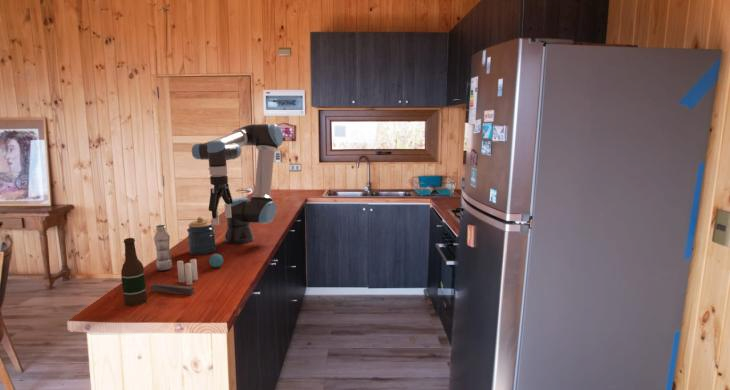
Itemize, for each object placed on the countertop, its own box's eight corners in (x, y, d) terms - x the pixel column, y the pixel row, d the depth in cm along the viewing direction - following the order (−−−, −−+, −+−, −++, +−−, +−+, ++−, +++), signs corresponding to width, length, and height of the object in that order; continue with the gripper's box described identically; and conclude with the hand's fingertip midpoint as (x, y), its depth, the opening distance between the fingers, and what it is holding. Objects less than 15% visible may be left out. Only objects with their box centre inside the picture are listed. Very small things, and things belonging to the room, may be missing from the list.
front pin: (194, 278, 186) (192, 258, 184) (199, 278, 185) (197, 259, 184) (190, 280, 184) (188, 260, 182) (195, 280, 183) (193, 261, 182)
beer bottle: (151, 297, 166) (145, 235, 162) (141, 306, 159) (134, 241, 155) (130, 298, 166) (123, 236, 162) (119, 306, 158) (112, 242, 154)
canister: (207, 255, 216) (204, 220, 213) (183, 254, 219) (180, 219, 216) (220, 248, 229) (218, 214, 226) (198, 247, 232) (195, 214, 229)
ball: (214, 264, 203) (213, 251, 202) (226, 265, 202) (225, 252, 201) (206, 268, 198) (205, 255, 197) (218, 269, 196) (217, 256, 195)
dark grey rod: (154, 289, 174) (153, 283, 174) (194, 293, 170) (193, 286, 169) (150, 291, 172) (150, 285, 172) (191, 295, 168) (190, 288, 168)
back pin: (181, 280, 184) (179, 260, 183) (186, 280, 183) (184, 260, 182) (177, 282, 182) (175, 262, 180) (182, 282, 181) (180, 262, 180)
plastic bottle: (155, 272, 193) (151, 228, 190) (158, 267, 200) (154, 224, 196) (171, 271, 195) (167, 227, 192) (173, 266, 201) (169, 223, 198)
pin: (188, 282, 181) (186, 262, 179) (193, 283, 180) (192, 263, 179) (184, 284, 179) (183, 264, 177) (190, 285, 178) (188, 265, 177)
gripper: (222, 171, 212) (225, 214, 216) (197, 179, 187) (202, 228, 191) (237, 171, 211) (240, 214, 215) (214, 179, 186) (218, 228, 190)
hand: (222, 221), depth 203 cm, fingers open, 13 cm apart
